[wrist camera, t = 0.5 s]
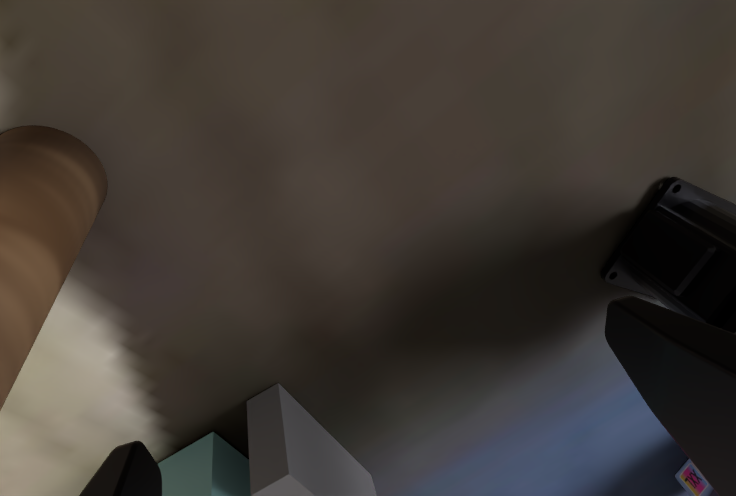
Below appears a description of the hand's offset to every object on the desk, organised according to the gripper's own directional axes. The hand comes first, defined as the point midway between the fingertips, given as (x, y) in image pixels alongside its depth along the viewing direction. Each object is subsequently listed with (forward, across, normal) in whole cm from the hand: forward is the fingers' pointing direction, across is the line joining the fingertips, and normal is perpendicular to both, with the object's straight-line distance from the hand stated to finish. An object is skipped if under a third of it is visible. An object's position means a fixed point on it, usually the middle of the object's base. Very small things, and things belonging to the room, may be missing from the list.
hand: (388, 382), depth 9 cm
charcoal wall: (+13, +4, +18) cm, 22 cm away
